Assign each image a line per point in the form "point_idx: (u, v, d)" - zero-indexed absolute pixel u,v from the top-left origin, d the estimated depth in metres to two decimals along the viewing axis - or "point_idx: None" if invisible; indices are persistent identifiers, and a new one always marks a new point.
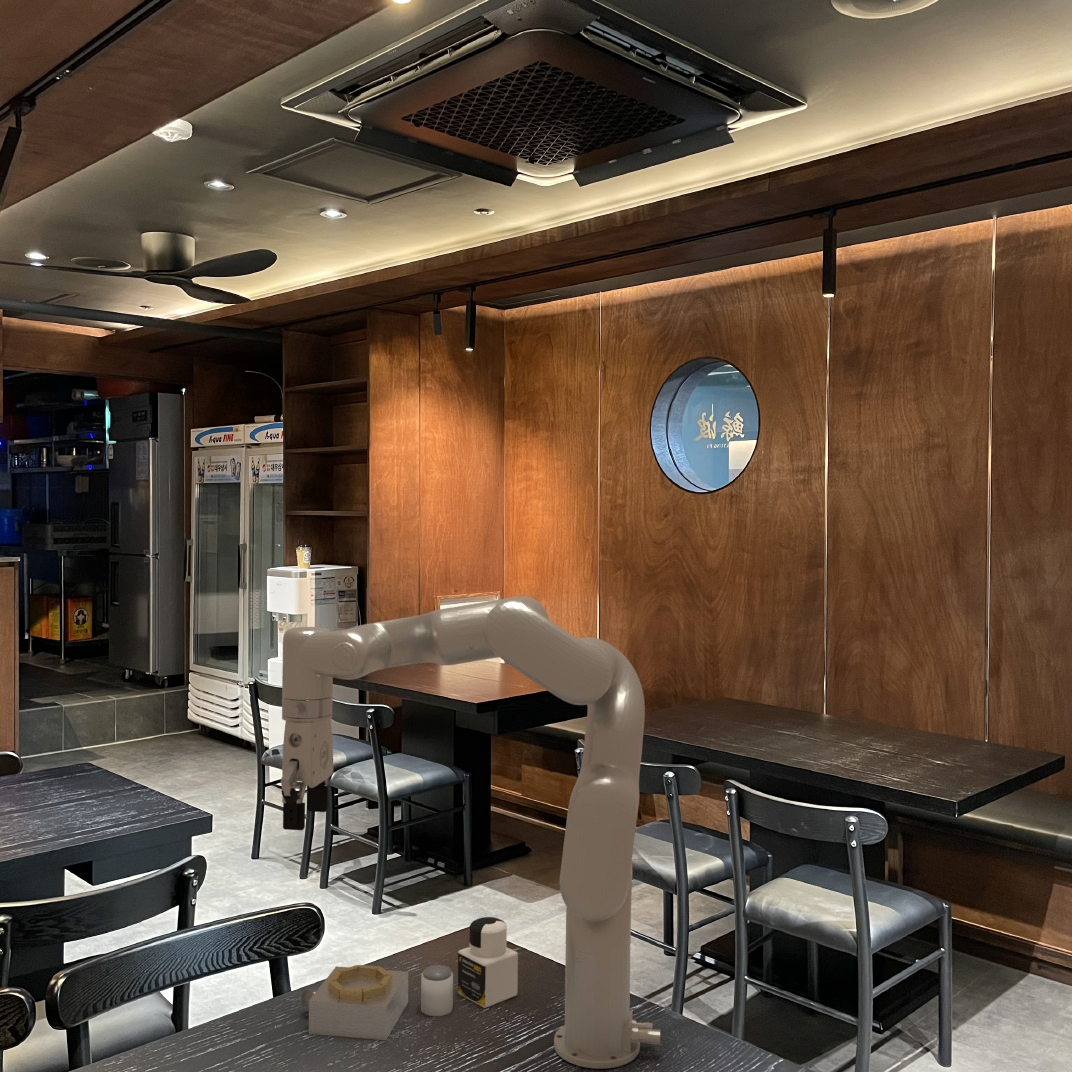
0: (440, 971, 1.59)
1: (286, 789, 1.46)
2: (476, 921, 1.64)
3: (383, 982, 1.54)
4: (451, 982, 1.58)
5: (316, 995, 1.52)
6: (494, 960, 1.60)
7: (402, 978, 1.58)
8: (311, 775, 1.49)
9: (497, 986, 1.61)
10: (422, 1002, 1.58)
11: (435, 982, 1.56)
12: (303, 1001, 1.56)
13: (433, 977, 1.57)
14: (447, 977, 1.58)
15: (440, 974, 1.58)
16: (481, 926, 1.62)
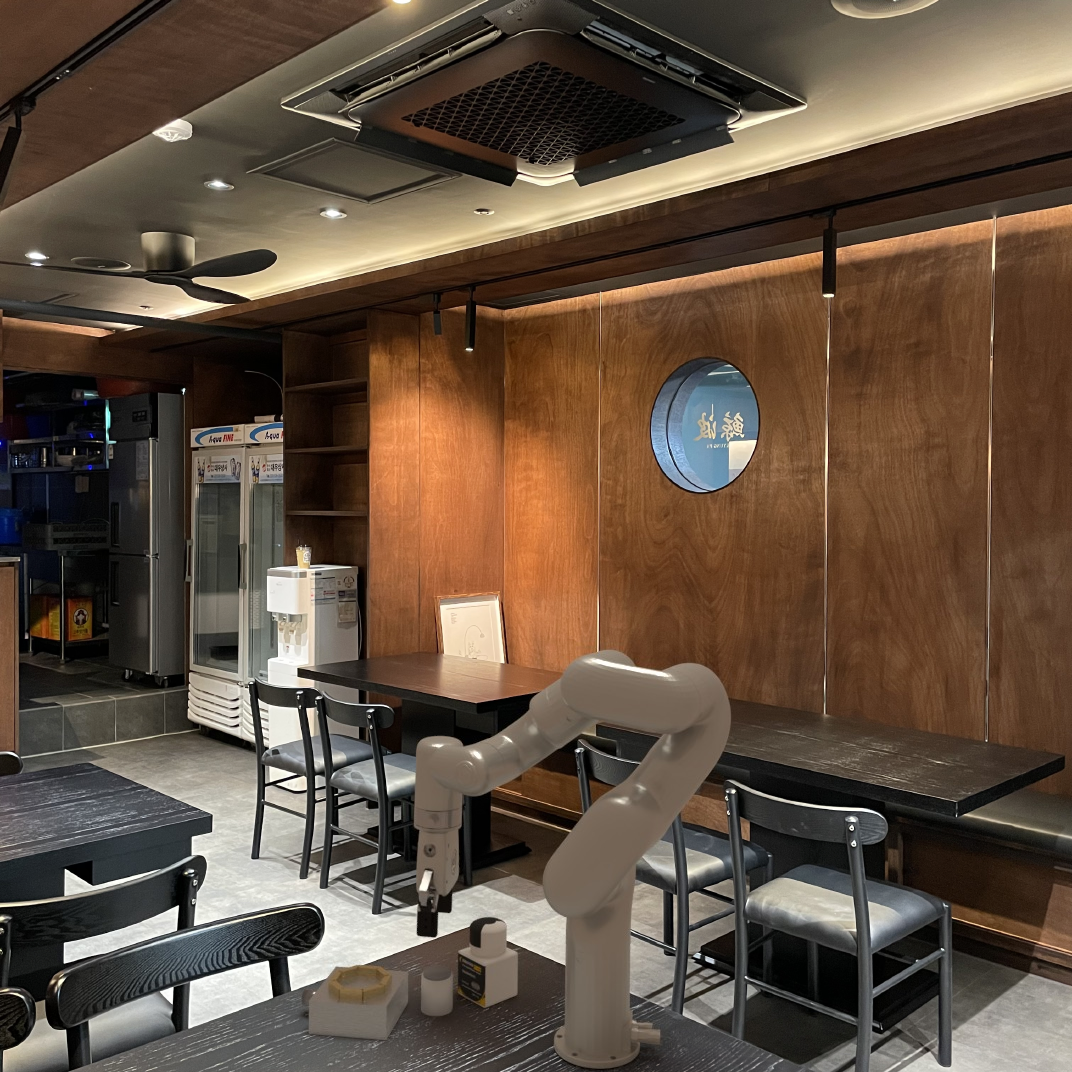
0: (440, 971, 1.59)
1: (423, 900, 1.51)
2: (476, 921, 1.64)
3: (383, 982, 1.54)
4: (451, 982, 1.58)
5: (316, 995, 1.52)
6: (494, 960, 1.60)
7: (402, 978, 1.58)
8: (445, 884, 1.54)
9: (497, 986, 1.61)
10: (422, 1002, 1.58)
11: (435, 982, 1.56)
12: (303, 1001, 1.56)
13: (433, 977, 1.57)
14: (447, 977, 1.58)
15: (440, 974, 1.58)
16: (481, 926, 1.62)
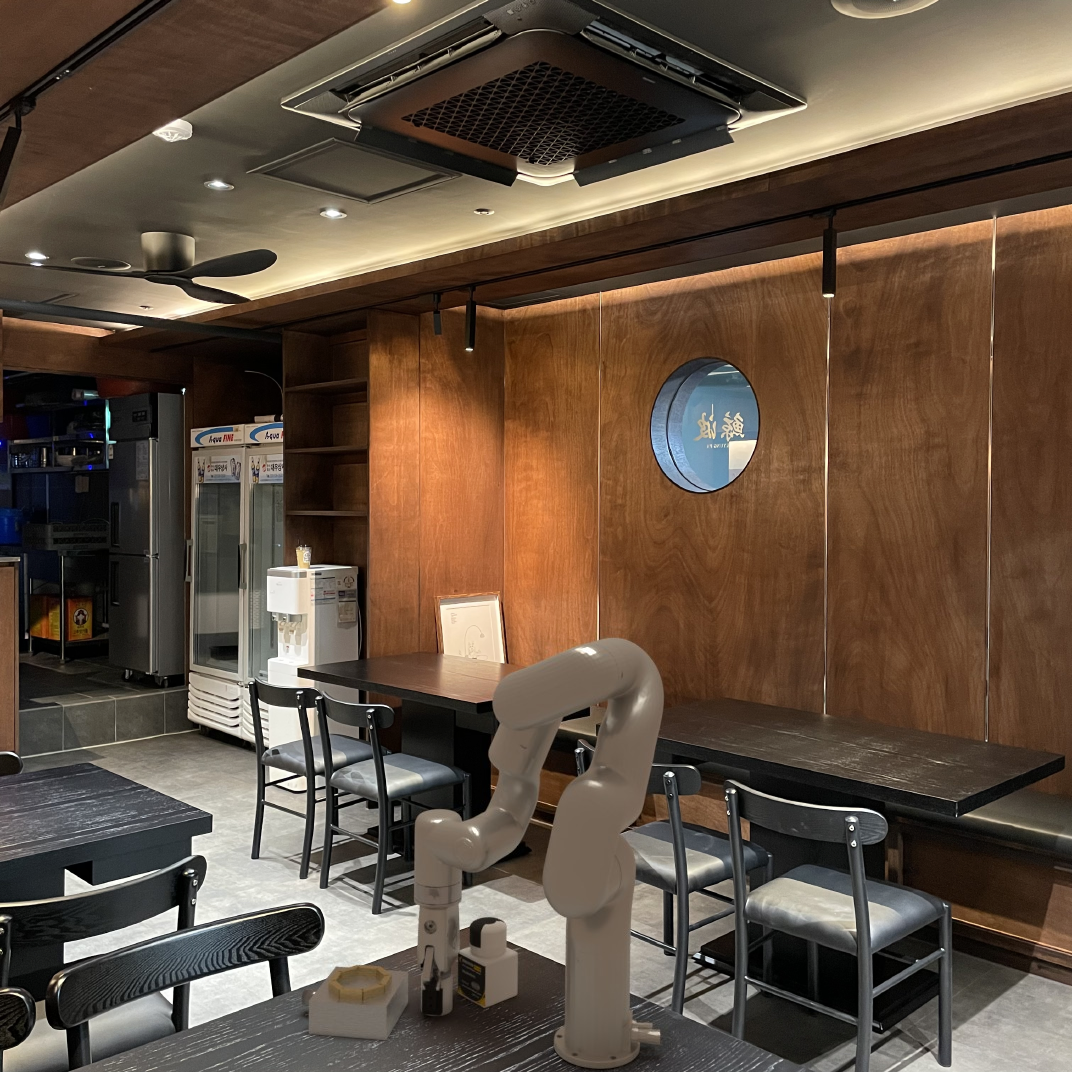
0: None
1: (427, 983, 1.53)
2: (476, 921, 1.64)
3: (383, 982, 1.54)
4: (451, 982, 1.58)
5: (316, 995, 1.52)
6: (494, 960, 1.60)
7: (402, 978, 1.58)
8: (446, 961, 1.54)
9: (497, 986, 1.61)
10: None
11: None
12: (303, 1001, 1.56)
13: None
14: (447, 977, 1.58)
15: None
16: (481, 926, 1.62)
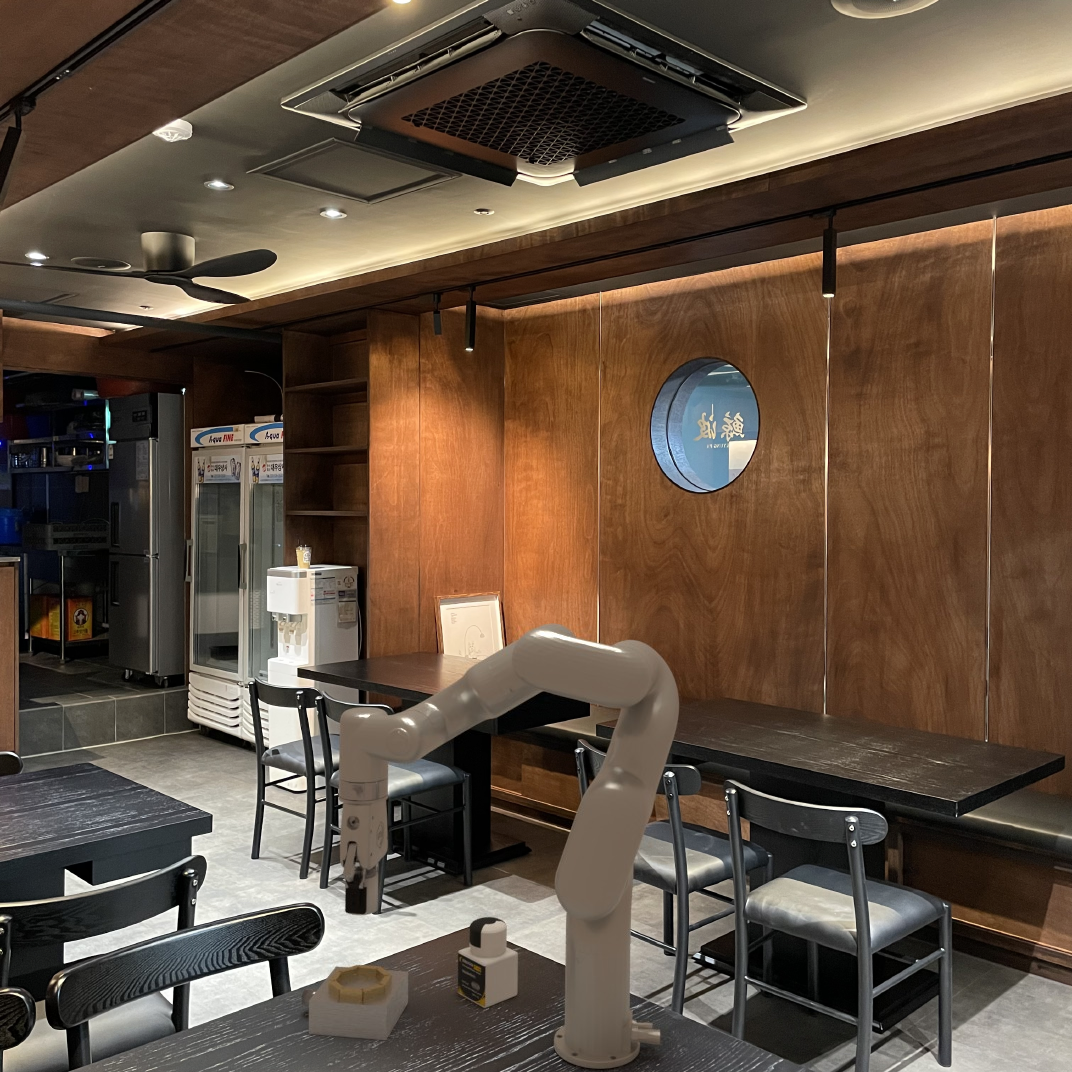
0: None
1: (349, 879, 1.49)
2: (476, 921, 1.64)
3: (383, 982, 1.54)
4: (376, 881, 1.55)
5: (316, 995, 1.52)
6: (494, 960, 1.60)
7: (402, 978, 1.58)
8: (369, 857, 1.51)
9: (497, 986, 1.61)
10: None
11: None
12: (303, 1001, 1.56)
13: None
14: (371, 876, 1.54)
15: None
16: (481, 926, 1.62)
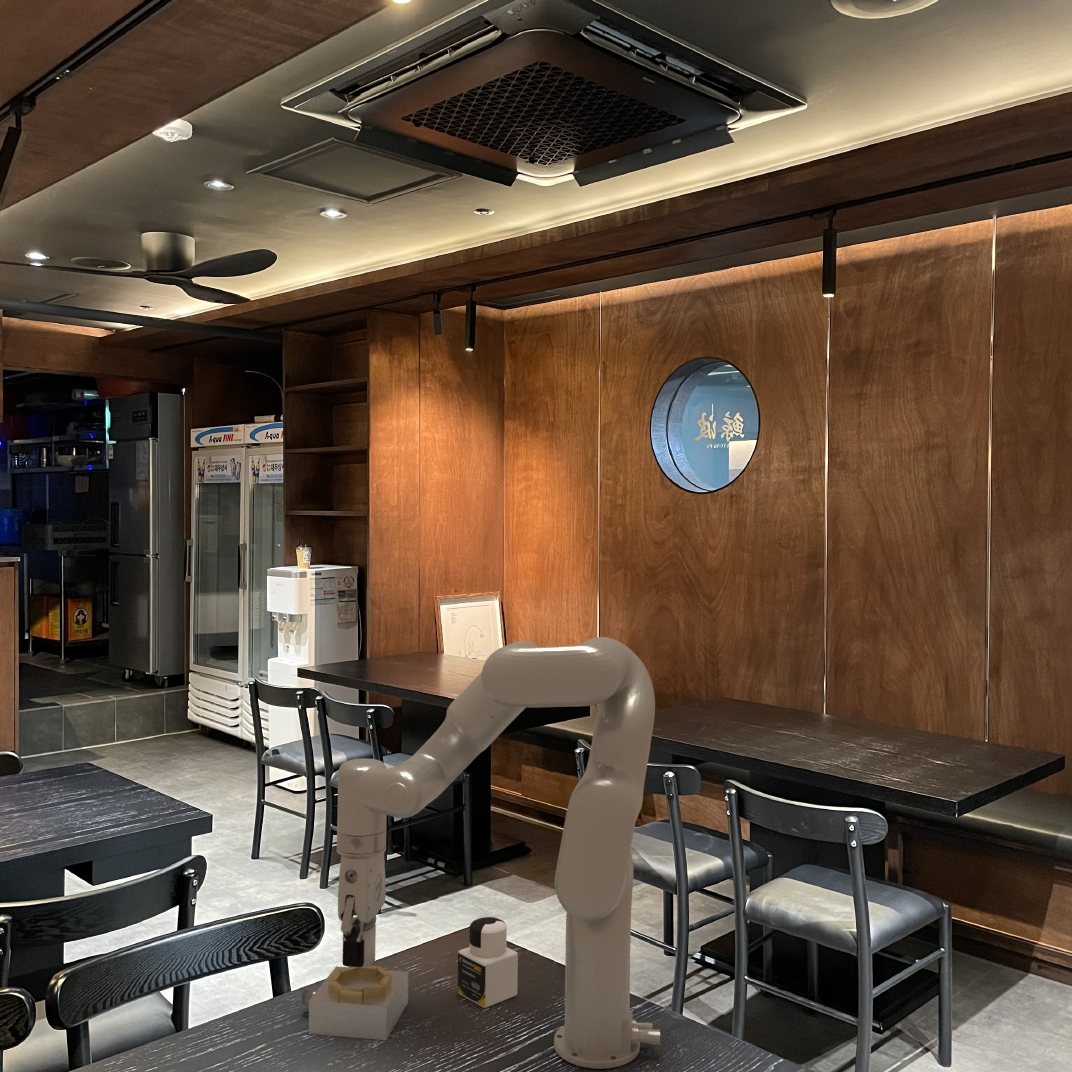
0: None
1: (347, 933, 1.49)
2: (476, 921, 1.64)
3: (383, 982, 1.54)
4: (373, 934, 1.55)
5: (316, 995, 1.52)
6: (494, 960, 1.60)
7: (402, 978, 1.58)
8: (366, 911, 1.51)
9: (497, 986, 1.61)
10: None
11: None
12: (303, 1001, 1.56)
13: None
14: (369, 928, 1.54)
15: None
16: (481, 926, 1.62)
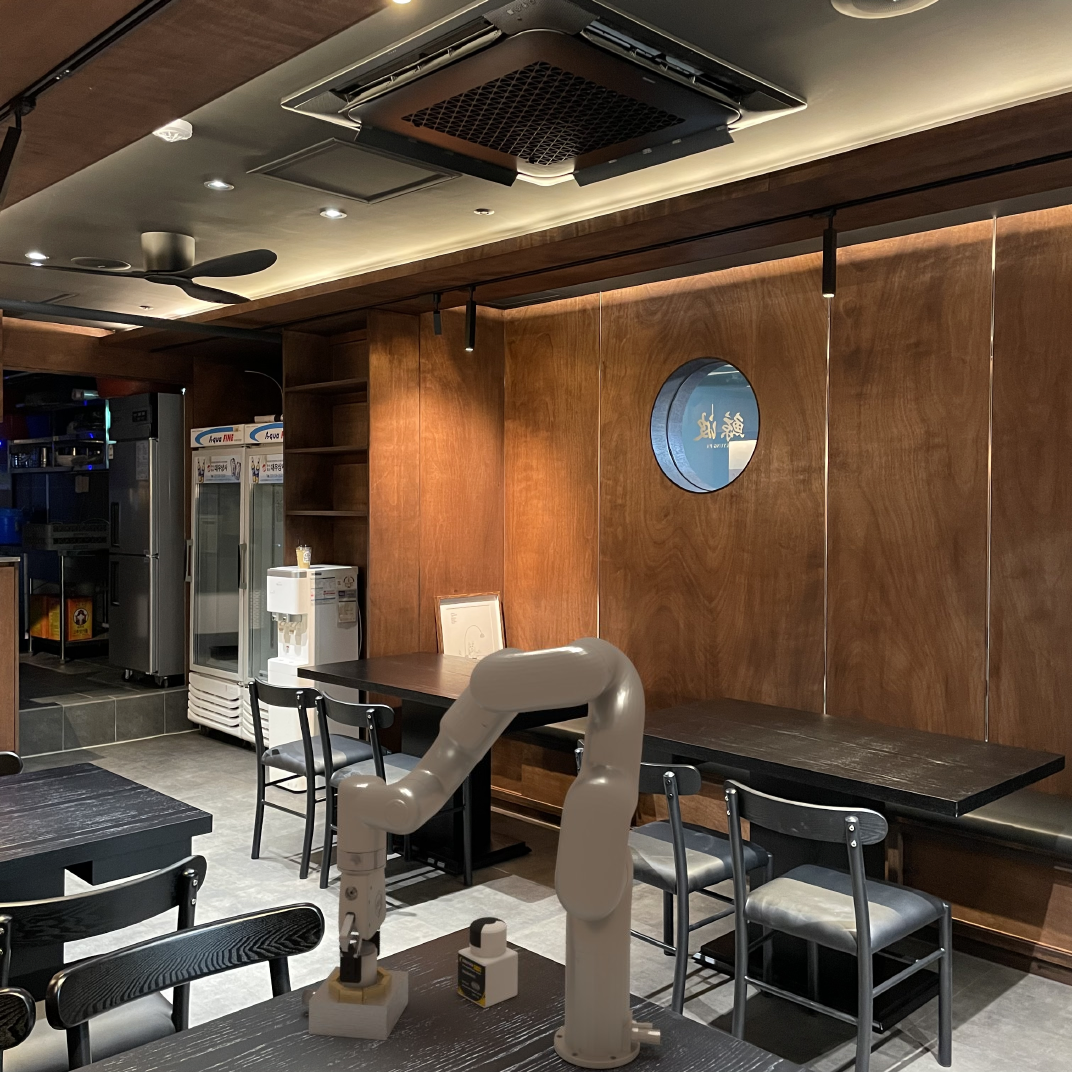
0: (364, 947, 1.55)
1: (344, 946, 1.48)
2: (476, 921, 1.64)
3: (383, 982, 1.54)
4: (375, 958, 1.55)
5: (316, 995, 1.52)
6: (494, 960, 1.60)
7: (402, 978, 1.58)
8: (367, 928, 1.51)
9: (497, 986, 1.61)
10: None
11: None
12: (303, 1001, 1.56)
13: None
14: (370, 953, 1.54)
15: (363, 950, 1.54)
16: (481, 926, 1.62)
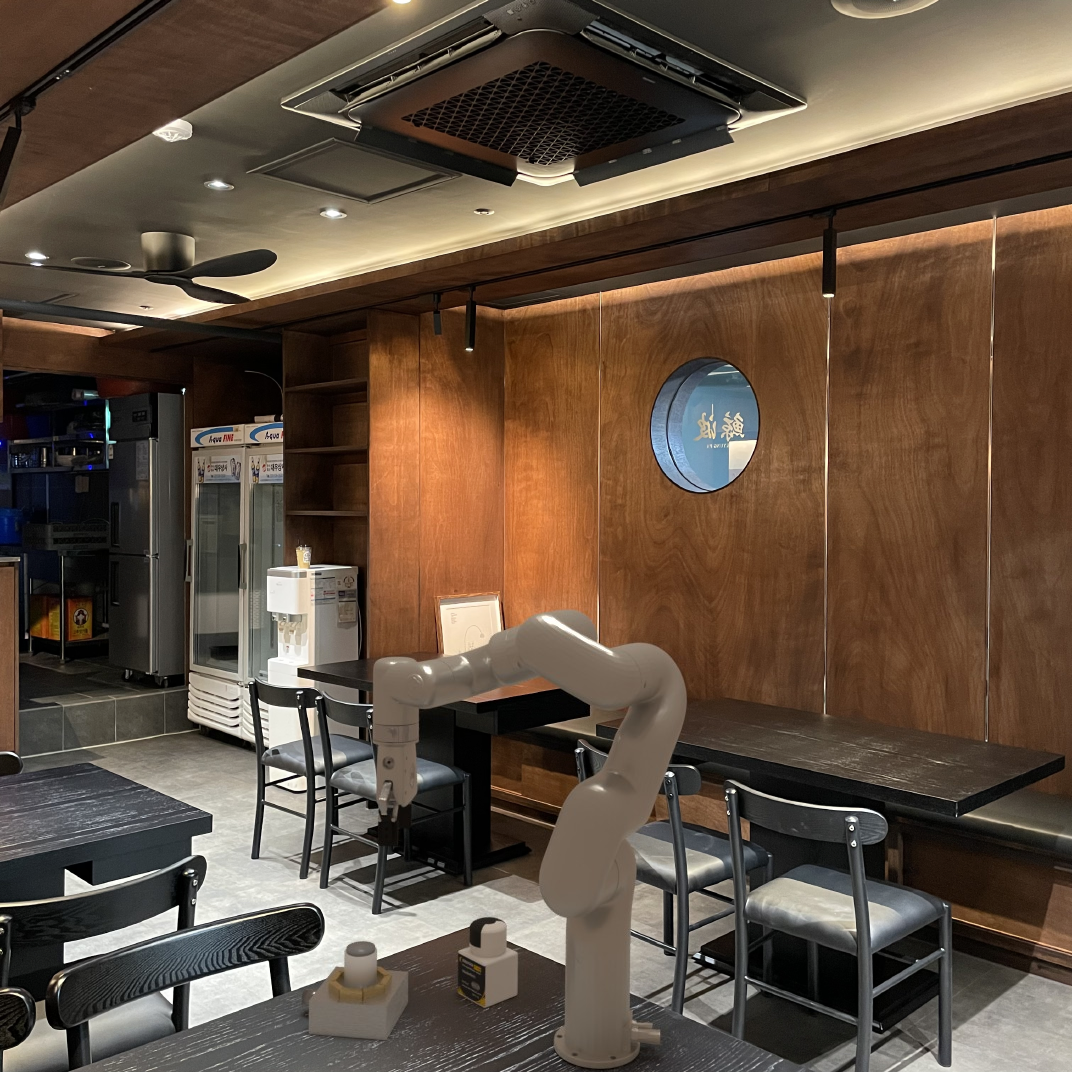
0: (364, 947, 1.55)
1: (383, 809, 1.58)
2: (476, 921, 1.64)
3: (383, 982, 1.54)
4: (374, 958, 1.55)
5: (316, 995, 1.52)
6: (494, 960, 1.60)
7: (402, 978, 1.58)
8: (404, 795, 1.61)
9: (497, 986, 1.61)
10: (345, 979, 1.54)
11: (357, 958, 1.53)
12: (303, 1001, 1.56)
13: (355, 953, 1.53)
14: (370, 953, 1.54)
15: (363, 950, 1.54)
16: (481, 926, 1.62)
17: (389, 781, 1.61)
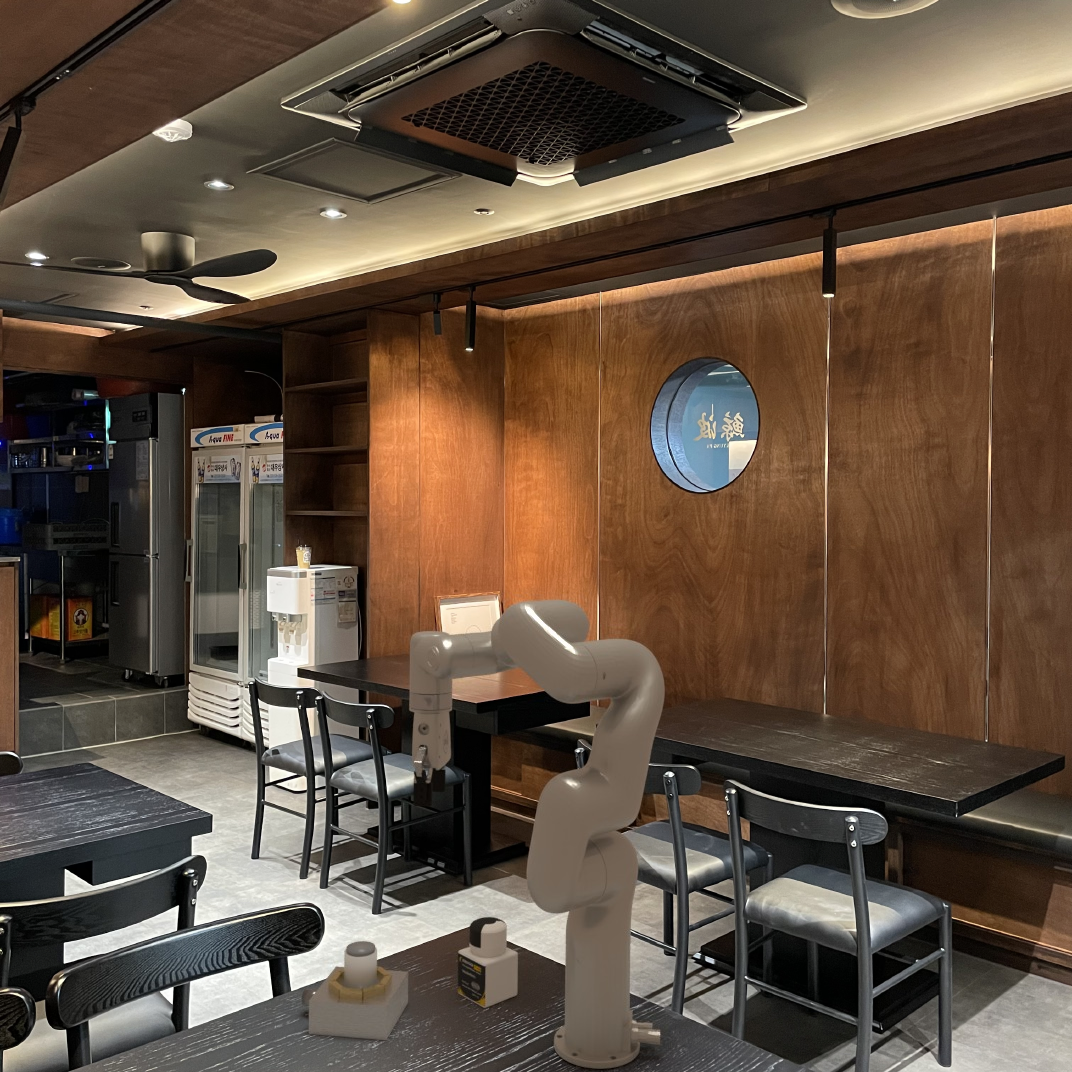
0: (364, 947, 1.55)
1: (418, 771, 1.70)
2: (476, 921, 1.64)
3: (383, 982, 1.54)
4: (374, 958, 1.55)
5: (316, 995, 1.52)
6: (494, 960, 1.60)
7: (402, 978, 1.58)
8: (438, 759, 1.73)
9: (497, 986, 1.61)
10: (345, 979, 1.54)
11: (357, 958, 1.53)
12: (303, 1001, 1.56)
13: (355, 953, 1.53)
14: (370, 953, 1.54)
15: (363, 950, 1.54)
16: (481, 926, 1.62)
17: (424, 746, 1.73)
